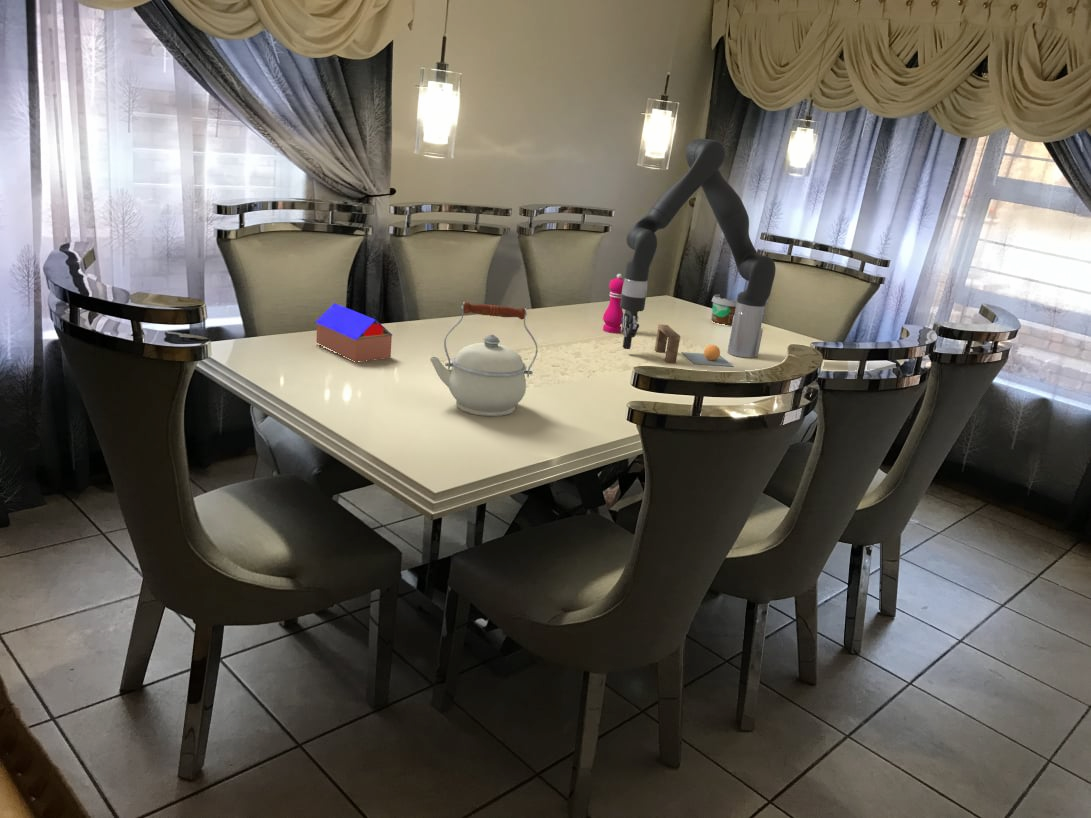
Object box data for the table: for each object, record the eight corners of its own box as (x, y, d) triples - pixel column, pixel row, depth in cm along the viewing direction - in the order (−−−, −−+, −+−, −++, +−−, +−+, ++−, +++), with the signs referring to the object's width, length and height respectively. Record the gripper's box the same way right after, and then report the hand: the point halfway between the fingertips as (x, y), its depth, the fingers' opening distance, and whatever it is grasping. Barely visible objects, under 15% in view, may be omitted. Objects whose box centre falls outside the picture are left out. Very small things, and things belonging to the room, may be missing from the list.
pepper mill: (598, 330, 294) (605, 272, 287) (606, 327, 300) (614, 270, 293) (617, 334, 291) (625, 276, 284) (625, 331, 297) (633, 274, 290)
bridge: (663, 351, 276) (667, 325, 273) (675, 363, 263) (680, 336, 260) (654, 350, 275) (658, 324, 273) (666, 362, 262) (671, 335, 260)
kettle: (530, 399, 213) (540, 301, 205) (531, 424, 196) (543, 318, 188) (430, 389, 212) (437, 291, 204) (422, 413, 194) (429, 307, 187)
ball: (718, 355, 274) (715, 341, 272) (723, 359, 269) (720, 344, 267) (704, 360, 274) (700, 346, 272) (709, 364, 269) (705, 350, 267)
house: (355, 364, 226) (356, 321, 222) (314, 345, 239) (315, 304, 235) (392, 359, 234) (394, 317, 231) (351, 341, 247) (352, 301, 243)
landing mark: (719, 355, 279) (719, 354, 279) (733, 366, 267) (733, 366, 267) (681, 352, 277) (681, 352, 276) (693, 364, 264) (694, 363, 264)
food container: (701, 319, 332) (706, 293, 329) (714, 319, 334) (719, 294, 331) (720, 327, 321) (725, 301, 318) (733, 327, 324) (738, 301, 321)
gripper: (651, 299, 255) (643, 355, 261) (640, 290, 268) (632, 343, 273) (627, 297, 254) (619, 353, 259) (617, 288, 266) (610, 342, 272)
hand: (626, 348), depth 266 cm, fingers closed
